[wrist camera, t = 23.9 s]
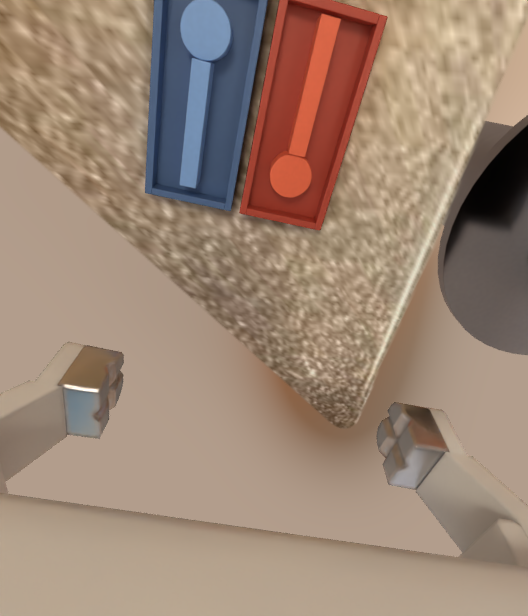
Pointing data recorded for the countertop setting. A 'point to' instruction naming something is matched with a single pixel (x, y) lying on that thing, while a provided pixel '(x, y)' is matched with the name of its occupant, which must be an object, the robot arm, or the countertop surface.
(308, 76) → the red spoon
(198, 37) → the blue spoon
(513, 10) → the countertop surface
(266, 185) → the red tray
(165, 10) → the blue tray
